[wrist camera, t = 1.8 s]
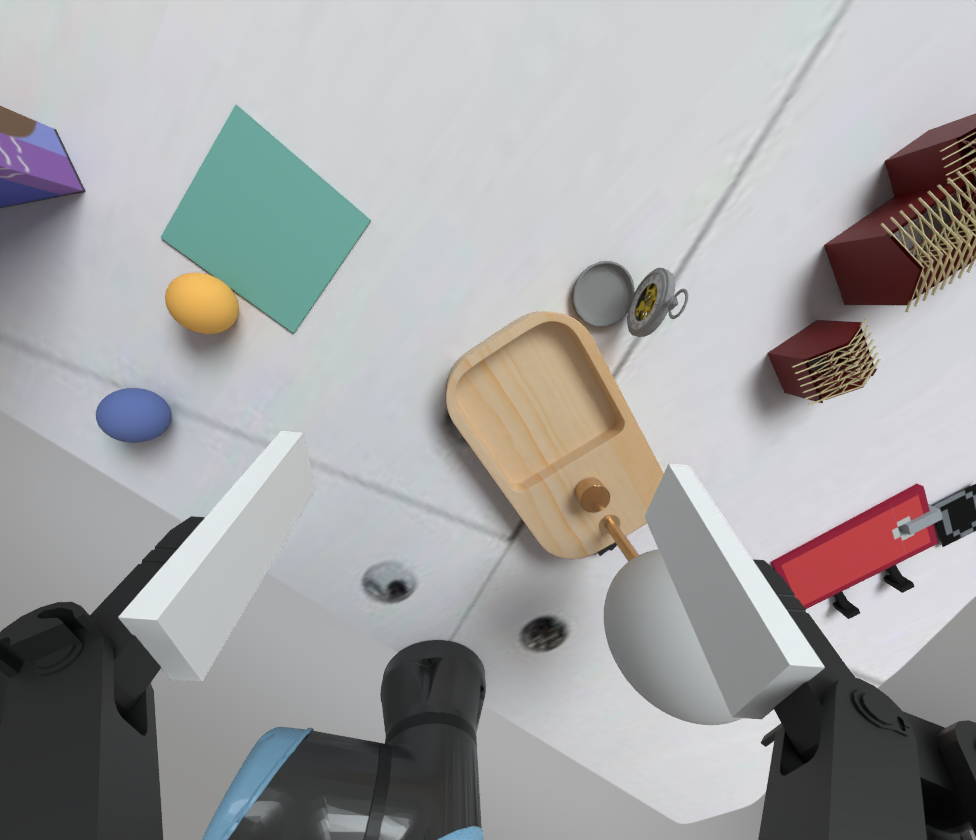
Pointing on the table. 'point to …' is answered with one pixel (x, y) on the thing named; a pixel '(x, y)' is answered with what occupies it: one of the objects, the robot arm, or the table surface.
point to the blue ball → (133, 415)
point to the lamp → (584, 490)
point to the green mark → (264, 222)
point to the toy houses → (889, 260)
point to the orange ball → (202, 303)
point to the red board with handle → (874, 545)
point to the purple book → (32, 162)
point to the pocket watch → (625, 297)
